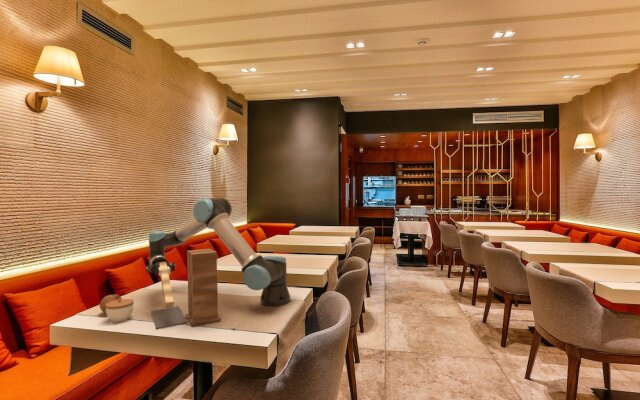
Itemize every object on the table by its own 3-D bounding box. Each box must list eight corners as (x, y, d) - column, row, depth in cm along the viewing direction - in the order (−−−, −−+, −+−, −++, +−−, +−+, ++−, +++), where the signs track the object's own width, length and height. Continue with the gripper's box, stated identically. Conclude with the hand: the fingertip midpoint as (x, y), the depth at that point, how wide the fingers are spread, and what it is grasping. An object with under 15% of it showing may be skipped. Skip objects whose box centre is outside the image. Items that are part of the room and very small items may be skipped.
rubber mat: (151, 312, 157) (151, 311, 157) (178, 307, 163) (178, 306, 163) (156, 329, 137) (156, 327, 137) (187, 323, 143) (187, 321, 143)
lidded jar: (121, 325, 142) (120, 303, 142) (99, 323, 144) (99, 302, 144) (139, 316, 152) (139, 295, 152) (119, 314, 154) (118, 294, 154)
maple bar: (159, 267, 159) (159, 262, 158) (165, 266, 161) (166, 261, 159) (165, 308, 140) (166, 302, 139) (173, 306, 142) (173, 301, 140)
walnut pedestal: (185, 316, 150) (184, 250, 150) (212, 311, 157) (211, 248, 156) (191, 327, 138) (190, 255, 138) (220, 321, 145) (219, 252, 144)
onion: (121, 318, 158) (131, 299, 158) (102, 319, 150) (112, 299, 150) (111, 308, 162) (121, 289, 163) (91, 309, 154) (102, 289, 155)
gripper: (176, 268, 176) (184, 278, 156) (141, 272, 167) (145, 283, 147) (175, 254, 176) (183, 262, 156) (141, 258, 167) (145, 266, 147)
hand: (165, 272), depth 152 cm, fingers closed on maple bar, 3 cm apart
